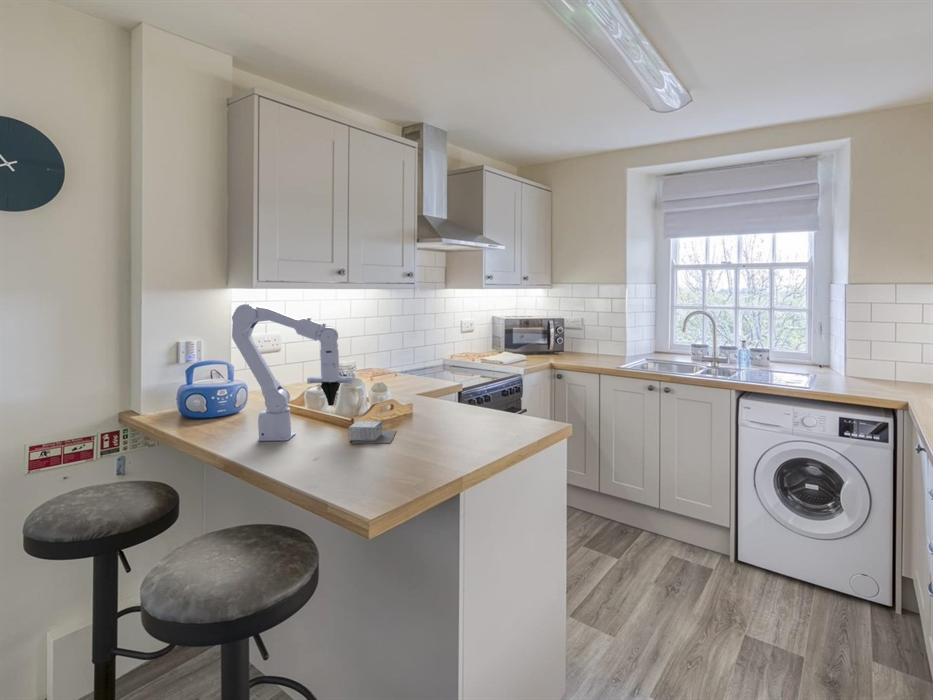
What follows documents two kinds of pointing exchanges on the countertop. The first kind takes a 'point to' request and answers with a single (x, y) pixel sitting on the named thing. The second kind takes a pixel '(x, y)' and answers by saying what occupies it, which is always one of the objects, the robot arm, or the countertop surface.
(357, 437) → the medicine box
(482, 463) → the countertop surface
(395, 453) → the countertop surface
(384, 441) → the mat
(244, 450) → the countertop surface
